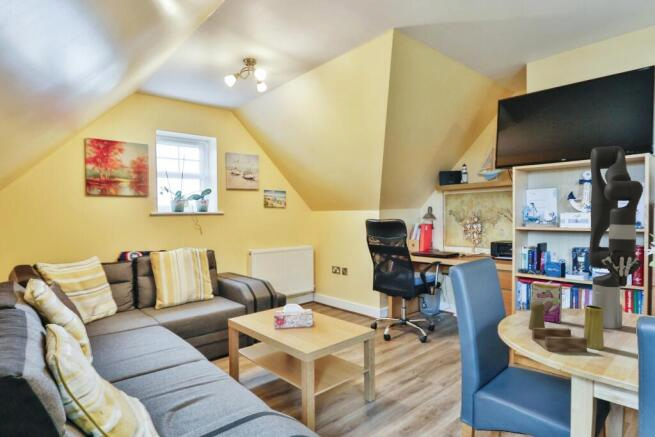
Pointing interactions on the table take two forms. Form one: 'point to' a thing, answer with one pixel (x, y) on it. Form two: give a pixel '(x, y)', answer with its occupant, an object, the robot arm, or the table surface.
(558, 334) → the u rest
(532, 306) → the cork
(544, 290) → the candy bar box
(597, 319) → the vase
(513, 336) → the table surface
